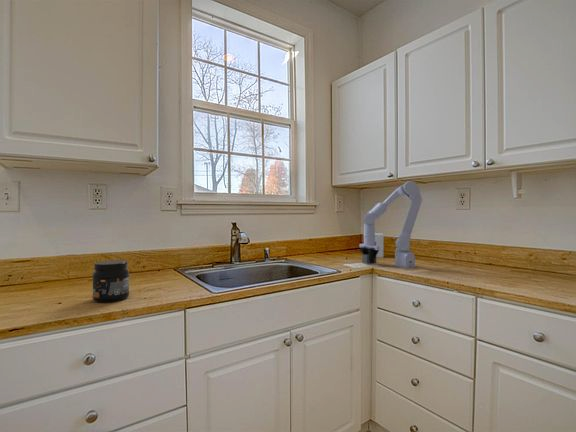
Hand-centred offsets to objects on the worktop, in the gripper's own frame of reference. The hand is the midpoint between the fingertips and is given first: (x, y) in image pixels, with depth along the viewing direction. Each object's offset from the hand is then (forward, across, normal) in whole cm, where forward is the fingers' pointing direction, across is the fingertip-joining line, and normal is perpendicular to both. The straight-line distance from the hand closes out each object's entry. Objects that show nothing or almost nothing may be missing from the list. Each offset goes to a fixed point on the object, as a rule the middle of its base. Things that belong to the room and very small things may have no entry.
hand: (369, 262), depth 163 cm
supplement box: (+2, -30, +28) cm, 41 cm away
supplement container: (+2, +19, -116) cm, 118 cm away
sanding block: (+1, 0, 0) cm, 1 cm away
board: (+2, 0, -5) cm, 5 cm away
